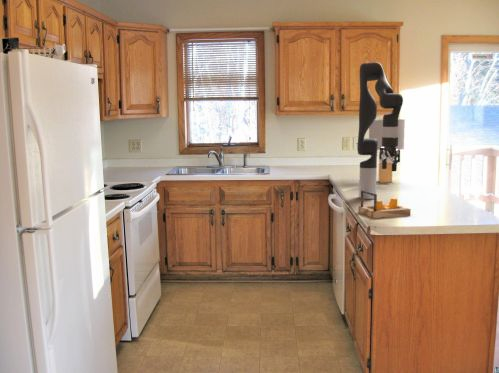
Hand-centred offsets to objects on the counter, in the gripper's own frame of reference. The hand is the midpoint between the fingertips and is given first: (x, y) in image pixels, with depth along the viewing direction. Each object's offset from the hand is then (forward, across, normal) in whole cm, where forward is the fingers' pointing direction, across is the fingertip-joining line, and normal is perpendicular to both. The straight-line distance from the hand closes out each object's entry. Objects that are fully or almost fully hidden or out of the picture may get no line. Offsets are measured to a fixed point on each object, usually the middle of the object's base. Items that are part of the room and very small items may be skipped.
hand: (389, 170), depth 250 cm
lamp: (+23, -88, +52) cm, 105 cm away
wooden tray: (+20, +3, -4) cm, 21 cm away
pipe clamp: (+20, +3, -4) cm, 21 cm away
